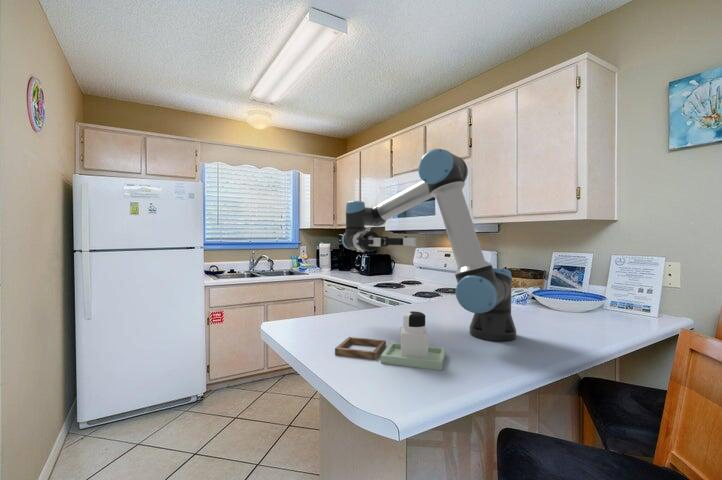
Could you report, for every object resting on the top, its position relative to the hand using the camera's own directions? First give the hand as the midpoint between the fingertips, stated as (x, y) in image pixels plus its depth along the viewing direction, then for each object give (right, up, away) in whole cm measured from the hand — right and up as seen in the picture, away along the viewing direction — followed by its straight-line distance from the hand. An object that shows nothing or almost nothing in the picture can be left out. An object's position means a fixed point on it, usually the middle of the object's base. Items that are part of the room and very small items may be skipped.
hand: (398, 242), depth 111 cm
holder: (-12, -32, -8) cm, 35 cm away
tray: (+3, -32, -15) cm, 36 cm away
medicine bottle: (+3, -32, -15) cm, 35 cm away
